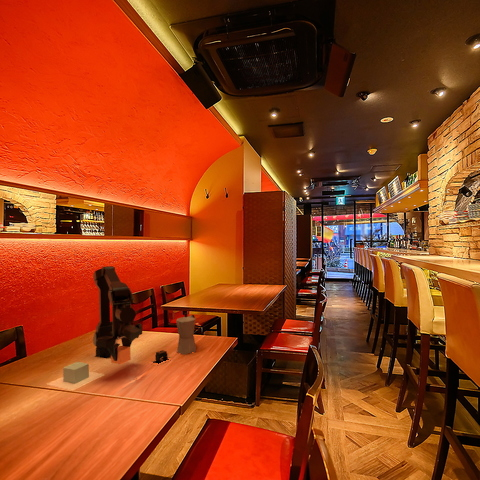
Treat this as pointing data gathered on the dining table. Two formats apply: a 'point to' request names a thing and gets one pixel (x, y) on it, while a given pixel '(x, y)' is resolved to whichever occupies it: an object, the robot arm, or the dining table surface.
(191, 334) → the coffeepot
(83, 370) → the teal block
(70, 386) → the base plate
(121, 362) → the orange block
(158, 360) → the dark piece
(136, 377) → the dining table surface
